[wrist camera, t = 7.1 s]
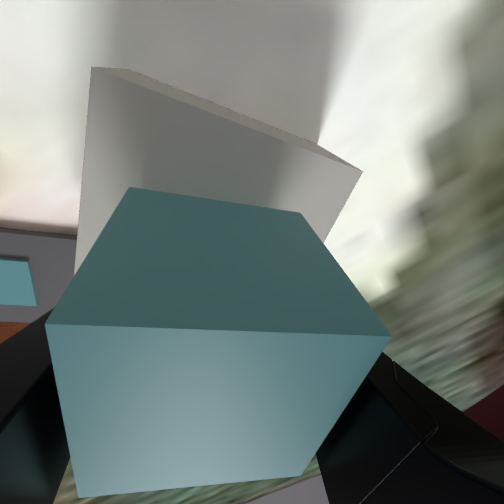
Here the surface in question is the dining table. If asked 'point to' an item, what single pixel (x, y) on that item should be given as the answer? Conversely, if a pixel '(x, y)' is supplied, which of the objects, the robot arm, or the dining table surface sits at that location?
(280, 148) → the white block
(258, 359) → the teal block
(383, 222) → the dining table surface
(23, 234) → the card
